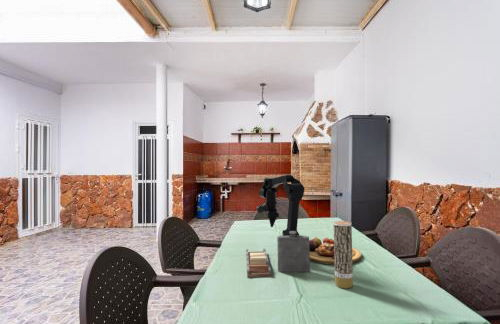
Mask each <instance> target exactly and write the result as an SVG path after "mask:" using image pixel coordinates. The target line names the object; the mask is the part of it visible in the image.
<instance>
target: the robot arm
mask: <svg viewBox="0 0 500 324" xmlns="http://www.w3.org/2000/svg"><path fill="white" fill-rule="evenodd" d="M282 184H283V190H285V192H286V193H285V194H286V198H287V199H288V210H287V220H286V221H287V223H286V228H285V229H282V235H281V236H290V233H289V232H290V231H296V232H297V234H296V235H300V233H299V232H298V224H299V223H298V221H299V220H298V219H299V211H300V209H299V208H300V202H301V201H302V199H303V197H304V195H305V187H304V185H303V184H302V182H301V181H300V180H298V179H297V178H295V177H294V176H293V175H292V174H283V175H281V176H276V177H265V178H264V179H263V182H262V185H261V186H260V187H261V188H260V190H259V192H258V195H259V197H260V198H263V199H265V203H263V204H260V205H258V206H256V210H257V213H258V214H261V213H265V216H266V218H267V219H268V221H269V225H270V228H274V225H275V223H276V220H277V218H280V214H279V212H278V209H277V204H278V202H277V192H279V191H278V189H277V187H278V186H279V185H282Z"/></svg>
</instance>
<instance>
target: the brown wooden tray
mask: <svg viewBox="0 0 500 324" xmlns="http://www.w3.org/2000/svg"><path fill="white" fill-rule="evenodd" d="M250 253H265V257H266V265H250ZM245 255H246V259H245V260H246V274H247V275H246V276H247V277H246V278H266V277H267V278H268V277H269V278H270V277H272V269H271V265H270V261H269V258H268V254H267V250H266V248H263V250H262V251H249V249H248V248H246V250H245Z"/></svg>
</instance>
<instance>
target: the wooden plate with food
mask: <svg viewBox="0 0 500 324" xmlns="http://www.w3.org/2000/svg"><path fill="white" fill-rule="evenodd" d="M309 255H310V261H311V262H314V263H319V264H324V265H332V266H333V265H334V266H335V262H334V239H332V238H328V237H324V239H322V240H321V238H318V237H317V236H316V237H314V238H312V239H309ZM362 256H363V255H362V252H361V251H359V250H358V249H357V248H355V247H353V246H352V264H354V263H358V262H359V261H360V260H361V259H362V258H363V257H362Z"/></svg>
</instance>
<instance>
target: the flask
mask: <svg viewBox="0 0 500 324" xmlns="http://www.w3.org/2000/svg"><path fill="white" fill-rule="evenodd" d="M289 233H290V236H282V235H278V236H277V240H276V241H277V272H278V273H305V274H308V273H311V268H310V267H311V265H310V255H309V240H310V236H308V235H301V234H299V235H296V234H297V232H296V231H290V232H289Z"/></svg>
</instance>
